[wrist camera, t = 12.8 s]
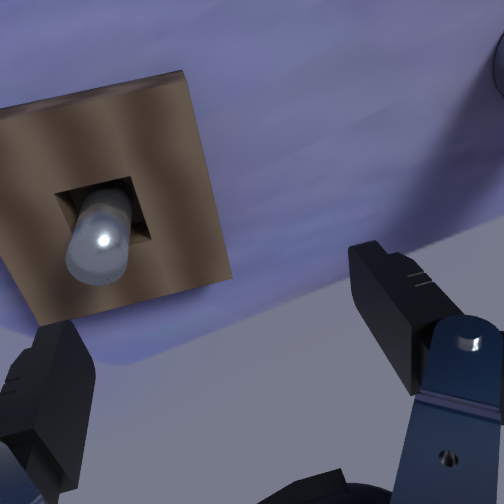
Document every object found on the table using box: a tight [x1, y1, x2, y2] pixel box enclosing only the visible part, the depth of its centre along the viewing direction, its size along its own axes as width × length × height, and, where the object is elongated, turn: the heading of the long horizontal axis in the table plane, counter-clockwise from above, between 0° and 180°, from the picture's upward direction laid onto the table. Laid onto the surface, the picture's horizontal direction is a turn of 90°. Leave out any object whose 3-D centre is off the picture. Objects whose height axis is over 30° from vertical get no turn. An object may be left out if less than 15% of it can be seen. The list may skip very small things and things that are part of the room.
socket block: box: [0, 70, 233, 327], centre depth 38 cm, size 18×18×5 cm
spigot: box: [65, 179, 134, 286], centre depth 35 cm, size 4×4×11 cm
